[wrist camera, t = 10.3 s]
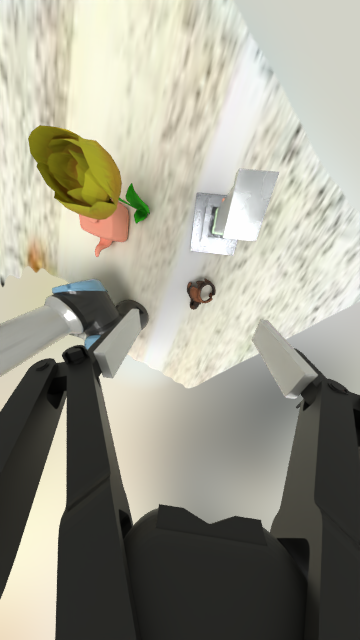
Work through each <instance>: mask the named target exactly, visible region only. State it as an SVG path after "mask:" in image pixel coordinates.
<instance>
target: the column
mask: <svg viewBox="0 0 360 640" xmlns="http://www.w3.org/2000/svg"><path fill="white" fill-rule="evenodd" d="M278 175H279V172H273V171H261V170H249V169H239V170H238V171H237V173H236V177H235V181H234V186H233V188H232V189H231V190H230V192H229V193H228V195H227V196H226V198H225V199H224V201H223V202H222V203H221V205H220V206H219V208H217V209H216V211H215V214H214V220H213V225H212V231H211V234H219V235H223V236H222V238H229V239H238V240H248V241H256V239H257V236H258V233H259V230H260V227H261V225H262V222H263V219H264V216H265V213H266V210H267V207H268V204H269V201H270V198H271V195H272V192H273V189H274V186H275V183H276V180H277V178H278Z"/></svg>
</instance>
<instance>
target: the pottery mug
mask: <svg viewBox="0 0 360 640" xmlns="http://www.w3.org/2000/svg"><path fill="white" fill-rule="evenodd" d="M196 283H197V286H198V289H197V288H195V287H194V286H193V287H192V288H190V286H191V284H192V283H191V282H189V284H188V286H187V292H188V294H189V297H190V298H191V302H190V308H191V309H193V310H194V309H197V307H198V306H199V304H201V302H202V303H208V302H210V301H211V300H212V296H213V295H215V292H216V290H215V286H214V285H213V284H212V283H211V281H209V280H207V279H205V282H203V281H197V282H196ZM205 285H210V286H211V287H212V293H210V294H209V297H210V298H209V299H208V300H206V301H203V300H202V299H201V297H200V292H201V289H202V288H203V287H204V286H205Z"/></svg>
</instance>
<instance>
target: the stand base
mask: <svg viewBox="0 0 360 640" xmlns="http://www.w3.org/2000/svg"><path fill="white" fill-rule="evenodd" d="M226 196H227V195H216V194H205V193H197V198H196V207H195V215H194V224H193V232H192V241H191V249H190V251H198V252H207V253H216V254H225V255H233V256H234V252H235V248H236V245H237V241H238V239H229V238H222V236H223V235H219V234H211V231H212V225H213V220H214V214H215V211H216V209H217V208H219V206H220V205H221V203H222V202H223V201H224V199H225V198H226Z"/></svg>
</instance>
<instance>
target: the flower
mask: <svg viewBox="0 0 360 640" xmlns="http://www.w3.org/2000/svg"><path fill="white" fill-rule="evenodd" d="M28 140H29V146H30V153H31V154H32V156H33V157H34V159H35V160H36V162H37V163H38V164H37V168H38V170H39V171H40V173H41V175H42V177H43V178H44V180H45V182H46V184H47V185H48V186H49V187H50V188H51V189H53V190H54V191H55V196H54V198H55V199H57V200H58V201H59V202H60V203H61V204H63V205H64V206H65V207H66V208H68V209H70V210H72V211H74V212H76V213H78V214H80V215H83V216H86V217H89V218H93V219H98V220H103V219H107V218H108V217H110V216H111V215H112V214H113V213H114V212H115V211H116V209H117V204H118V200H120V201H122V202H124V203H126V204H128V205H130V206H132V207H134V208H135V209H137V211H136V212H135V214H134V218H135V222H136V224H137V223H138V222H140V221H142V220H144V219H145V218H146V217H147V215H148V214H147V213H149V214H150V212H149V208H148V206H147V205H146V204H145V203H144V202H143V201H142V200H141V199H140V198H139V196H138V195H137V194H136V192H135V191H134V188H133V185H132V183H131V185H130V186H129V188H128V190H127V194H126V199H127V201H128V202H129V203H130V204H129V203H127V202H126V201H124V200H122V199H121V198H119V196H120V193H121V185H122V182H121V176H120V171H119V169H118V167H117V165H116V164H115V162H114V160H113V159H112V157H111V155H110V154H109V153H108V152H107V151H106V150H105V149H104V148H103V147H102V146H101V145H100V144H99V143H98V142H97V141H94V140H88V139H83V138H81V137H80V136H78V135H77V134H75V133H73V132H71V131H69V130H66V129H62V128H58V127H51V126H41V125H40V126H38V127H37V128H36V129H34V130H33V131H32V132H31V134H30V136H29V138H28ZM110 197H111V198H112V200H113V201H112V200H111V199H110Z"/></svg>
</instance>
